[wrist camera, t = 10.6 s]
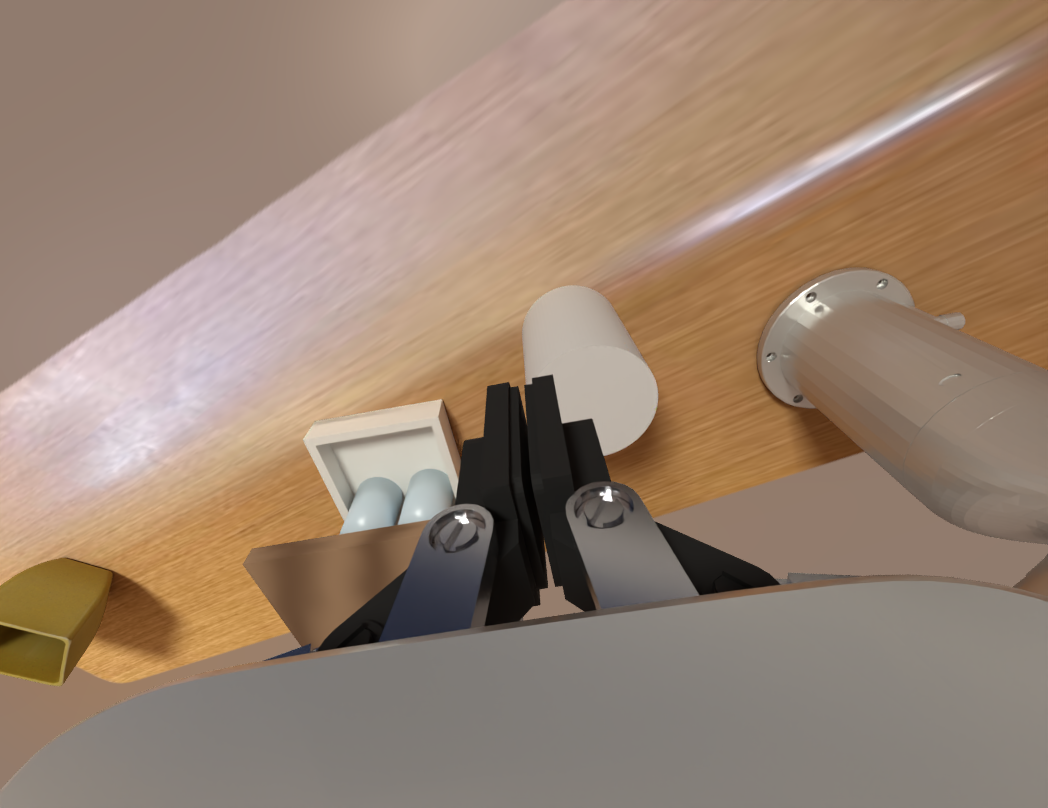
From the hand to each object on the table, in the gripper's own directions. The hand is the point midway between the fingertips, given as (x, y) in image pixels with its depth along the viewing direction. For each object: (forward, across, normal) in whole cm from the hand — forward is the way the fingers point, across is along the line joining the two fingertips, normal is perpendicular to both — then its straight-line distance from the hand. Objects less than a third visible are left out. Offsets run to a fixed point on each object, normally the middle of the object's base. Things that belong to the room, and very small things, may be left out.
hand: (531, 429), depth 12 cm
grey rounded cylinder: (+26, +13, +22) cm, 37 cm away
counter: (+27, +15, +24) cm, 39 cm away
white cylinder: (+27, -3, +9) cm, 29 cm away
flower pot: (+27, +54, +27) cm, 66 cm away
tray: (+27, +15, +21) cm, 38 cm away
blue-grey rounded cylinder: (+26, +18, +22) cm, 39 cm away
